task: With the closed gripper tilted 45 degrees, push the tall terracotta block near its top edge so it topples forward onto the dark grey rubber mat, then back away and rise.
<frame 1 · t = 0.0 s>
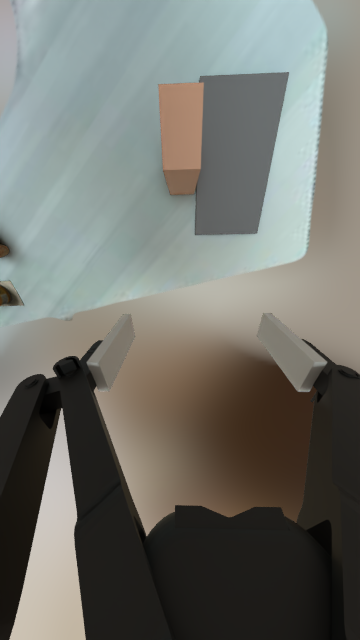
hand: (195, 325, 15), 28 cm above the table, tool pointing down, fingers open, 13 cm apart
condiment: (4, 293, 44), on the table
tall block: (181, 172, 31), on the table
rubber mat: (231, 170, 30), on the table
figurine: (7, 247, 38), on the table
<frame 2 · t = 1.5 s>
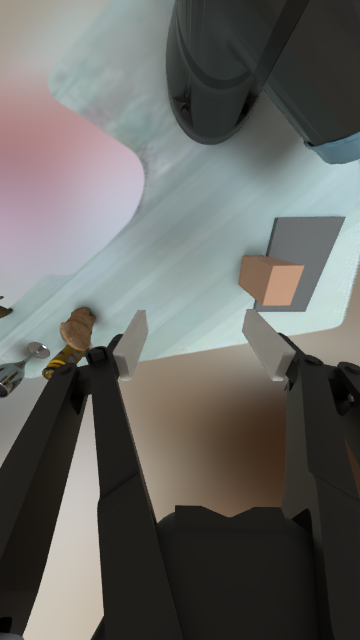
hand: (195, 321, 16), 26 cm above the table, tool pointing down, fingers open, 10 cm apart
condiment: (81, 347, 52), on the table
tall block: (250, 270, 38), on the table
wine glass: (39, 350, 52), on the table
rubber mat: (290, 270, 38), on the table
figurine: (94, 316, 46), on the table
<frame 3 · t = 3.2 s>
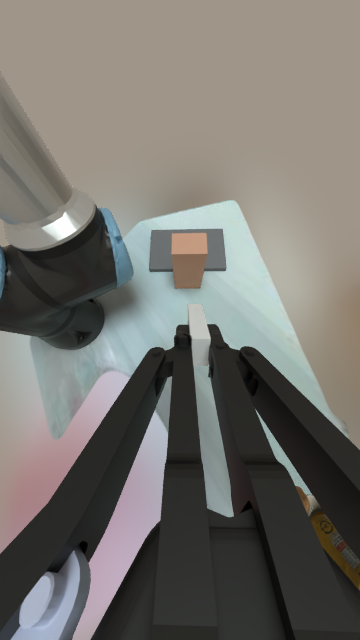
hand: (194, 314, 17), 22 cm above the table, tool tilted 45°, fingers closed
condiment: (322, 522, 29), on the table
tall block: (187, 280, 43), on the table
rubber mat: (187, 251, 46), on the table
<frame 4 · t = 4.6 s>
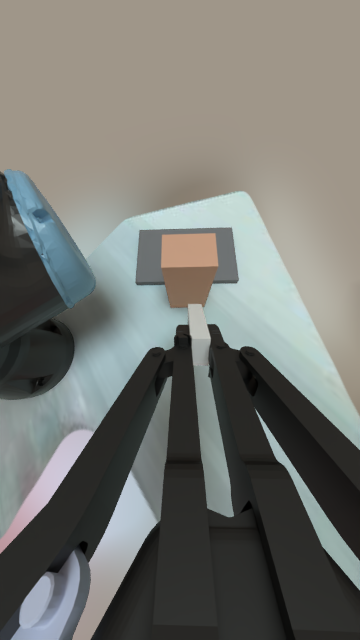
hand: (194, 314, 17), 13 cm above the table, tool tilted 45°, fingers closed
tall block: (186, 296, 33), on the table
rubber mat: (185, 257, 35), on the table
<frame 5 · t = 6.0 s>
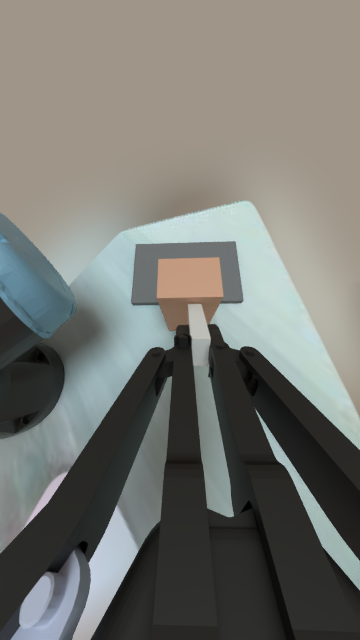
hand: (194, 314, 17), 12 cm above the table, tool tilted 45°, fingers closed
tall block: (187, 318, 30), on the table, touching gripper
rubber mat: (185, 273, 33), on the table
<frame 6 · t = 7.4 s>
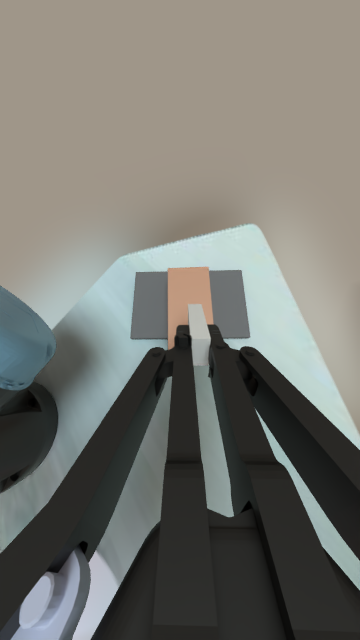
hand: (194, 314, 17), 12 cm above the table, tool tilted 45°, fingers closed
tall block: (191, 351, 25), point 4 cm above the table, tilted 90°, touching rubber mat
rubber mat: (188, 304, 31), on the table
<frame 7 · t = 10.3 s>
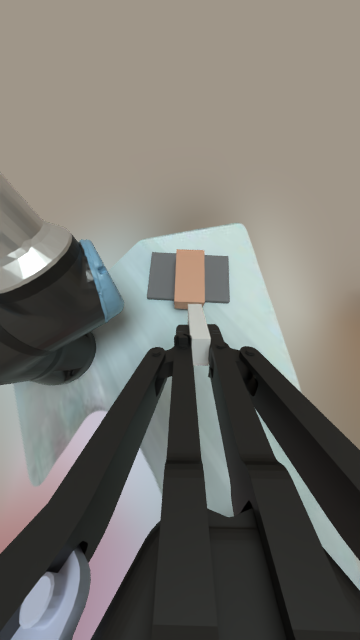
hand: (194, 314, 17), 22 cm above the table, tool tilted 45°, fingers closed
tall block: (188, 305, 37), point 4 cm above the table, tilted 90°, touching rubber mat
rubber mat: (188, 278, 43), on the table
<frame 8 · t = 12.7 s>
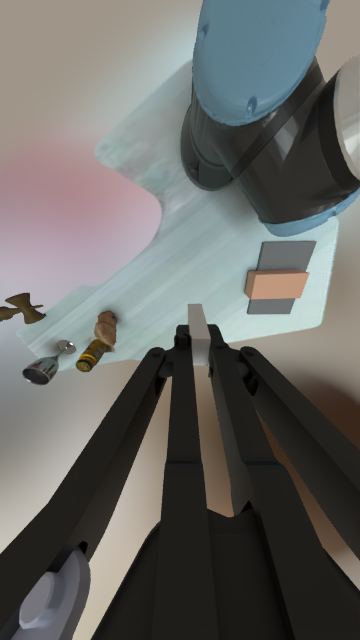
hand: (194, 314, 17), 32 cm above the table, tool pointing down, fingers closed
kendama: (25, 306, 54), on the table
condiment: (102, 344, 61), on the table
tall block: (249, 285, 45), point 4 cm above the table, tilted 90°, touching rubber mat
wine glass: (67, 346, 62), on the table
rubber mat: (276, 281, 48), on the table
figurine: (115, 318, 55), on the table
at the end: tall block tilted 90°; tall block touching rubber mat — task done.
